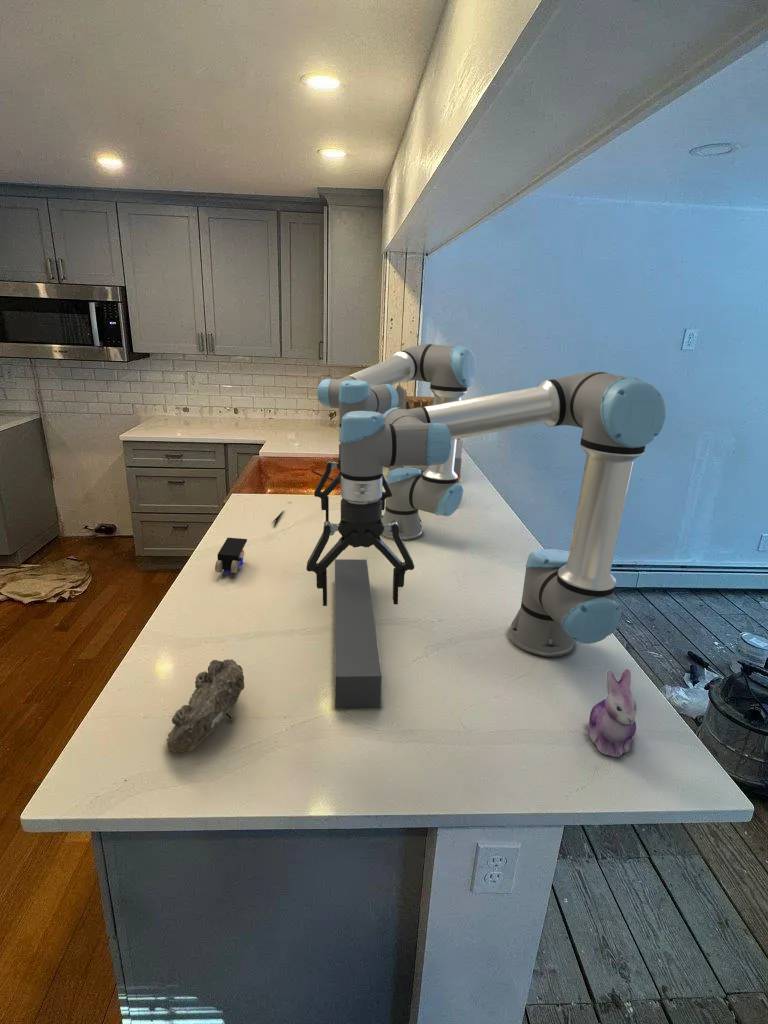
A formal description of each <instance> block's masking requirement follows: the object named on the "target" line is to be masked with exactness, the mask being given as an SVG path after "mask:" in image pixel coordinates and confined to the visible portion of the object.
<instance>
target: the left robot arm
mask: <svg viewBox="0 0 768 1024" xmlns="http://www.w3.org/2000/svg"><path fill="white" fill-rule="evenodd" d="M477 368H478V367H477V362H476V356H475V355H474V353H473V351H472V350H471V349H470V348H468V347H466V346H465V347H464V346H459V345H446V344H445V345H444V344H432V343H423V344H422V343H421V344H416V345H413V346H409V347H406V348H404V349H401V350H399V351H396V352H394V353H393V354H392V355H390V357H389V358H388V359H386V360H384V361H380V362H377V364H373V365H371V366H369V367H366V368H363V369H361V370H358V371H357V372H354V373H352V374H349V375H346V376H344V377H342V378H338V379H335V378H325V379H322V380H321V382H319V385H318V387H317V391H316V393H317V399H318V402H319V403H320V404H321V405H322V406H324V407H329V408H331V409H338V412H339V417H338V418H339V422H338V442H339V445H338V461H337V462H336V461H332V460H330V459H329V460H327V461H326V466H325V467H326V468H325V469H324V472H323V474H321V473H319V472H317V471H315V470H311V472H310V473H312V474H314V475H316V476H319V477H321V478H320V480H319V482H318V483H317V484H316V485H317V486H316V487H315V489H314V490H313V497H316V498H319V499H320V509H321V511H325V521H329V522H330V518H329V517H330V513H329V511H330V508H329V506H330V503H329V502H330V500H329V499H330V497H329V495H330V494H331V493H332V492H333V491H334V489H335V488H336V487H337V486H338V485H339V484H340V485H341V453H340V437H341V421H342V417H343V416H344V415H345V414H346V413H348V412H353V411H373V412H378V413H381V414H382V415H383V414H384V413H385V412H386V411H388V410H389V409H392V408H396V406H397V404H398V400H399V399H398V393H397V391H396V388H395V387H394V385H396V384H398V383H403V384H405V383H408V382H410V381H418V382H426V383H430V385H429V390H430V391H431V393H432V394H433V397H434V403H433V405H437V404H442V403H448V402H454V401H460V400H462V397H463V396H464V395H466V394H467V393H468V388H471V386H473V384H474V383H475V379H476V377H477ZM456 443H457V439H453V440H451V453H450V457H449V459H448V461H447V462H446V463H444V464H439V465H430V466H427V468H426V469H425V470H424V471H422V470H421V469H420V468H418V467H404V468H398V469H394V470H391V471H390V470H388V472H387V475H386V478H385V475H384V474H383V476H382V488H383V489H384V491H383V490H382V497H381V498H380V499H381V500H382V511H384V513H383V514H382V523H383V524H386V523H391V522H392V521H393V520H395V521H397V524H398V528H399V534H400V536H401V538H402V540H403V541H410V540H415V539H418V538H420V537H421V536H422V535H423V525H422V519H421V518H420V515H419V511H422V512H425V513H429V514H433V515H435V516H441V517H442V516H443V517H450V516H452V515H453V514H454V513H455V512H456V511H457V509H458V508H459V506H460V504H461V502H462V499H463V494H464V488H463V485H462V484H461V482H459V483H457V478H458V476H457V474H456V473H455V472H454V462H455V453H456ZM336 468H337V470H338V471H339V472H338V473H337V475H336V476H335V478H332V477H330V475H331V472H332V471H334V470H335V469H336ZM328 480H329V481H331V482H330V483H329V484H328V485H327V486H326V487H325V489H324V490H323V488H324V486H325V484H326V483H327V481H328ZM322 490H323V491H322ZM380 536H382V537H385V538H387V539H389V540H394V539H393V535H389V534H388V532H387V531H385V530H384V531H383V533H382V534H381V535H380Z"/></svg>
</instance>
